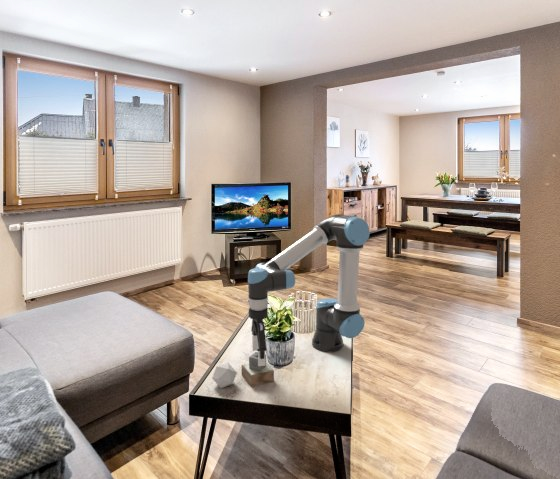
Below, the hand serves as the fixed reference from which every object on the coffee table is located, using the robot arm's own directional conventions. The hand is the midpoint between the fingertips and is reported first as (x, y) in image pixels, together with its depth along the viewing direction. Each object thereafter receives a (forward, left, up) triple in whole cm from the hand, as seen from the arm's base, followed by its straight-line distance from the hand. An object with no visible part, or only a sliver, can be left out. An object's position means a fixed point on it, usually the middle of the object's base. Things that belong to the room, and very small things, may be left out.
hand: (258, 357), depth 161 cm
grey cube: (0, 0, -4) cm, 4 cm away
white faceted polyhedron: (+12, +7, -9) cm, 17 cm away
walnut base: (0, 0, -9) cm, 9 cm away
